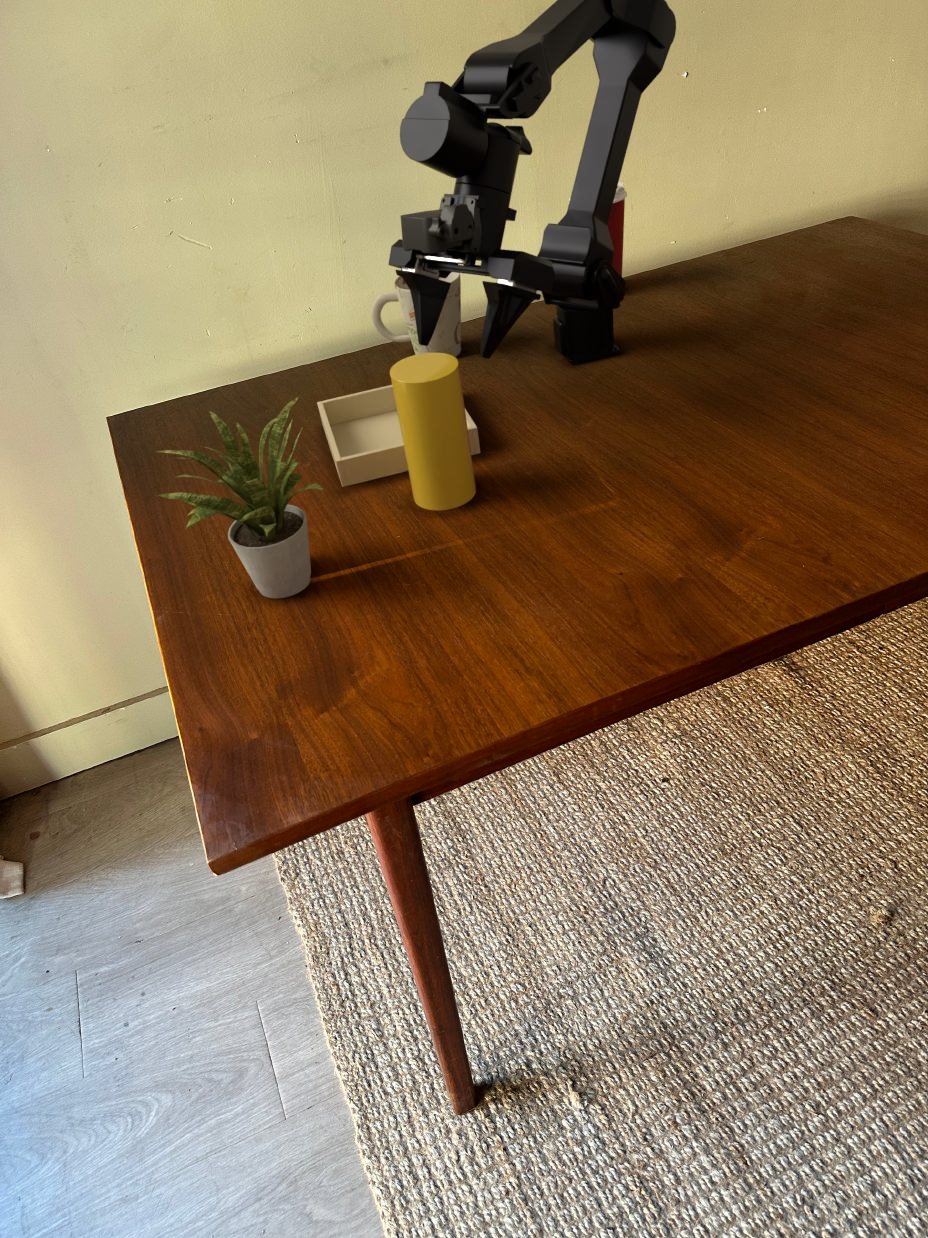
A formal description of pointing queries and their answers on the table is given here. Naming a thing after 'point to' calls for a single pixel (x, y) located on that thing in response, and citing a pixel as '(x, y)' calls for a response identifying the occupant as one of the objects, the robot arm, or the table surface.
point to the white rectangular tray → (369, 435)
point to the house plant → (258, 508)
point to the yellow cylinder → (434, 430)
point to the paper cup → (617, 226)
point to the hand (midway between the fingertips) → (453, 351)
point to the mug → (445, 331)
